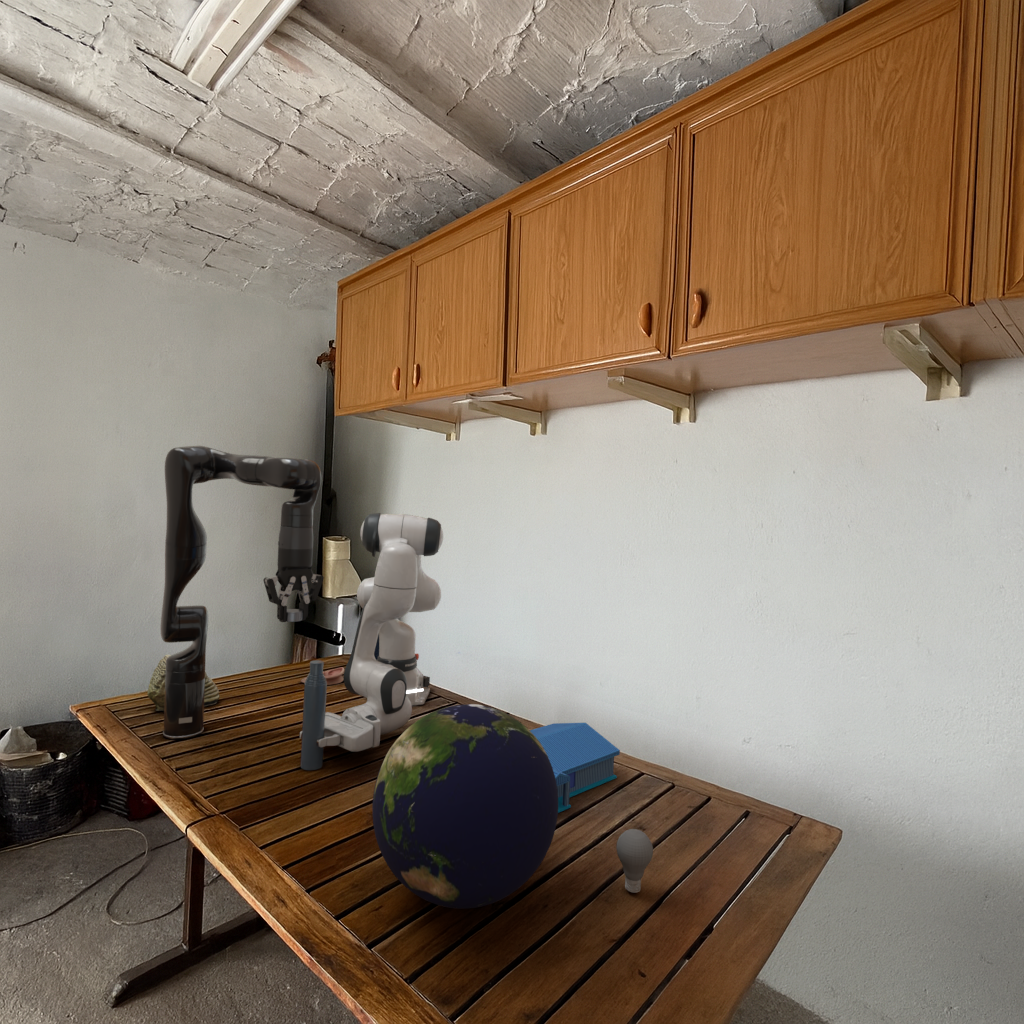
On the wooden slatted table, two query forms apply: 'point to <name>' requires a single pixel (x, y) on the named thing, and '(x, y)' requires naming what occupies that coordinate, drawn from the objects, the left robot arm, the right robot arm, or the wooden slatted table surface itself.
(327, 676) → the anatomical model
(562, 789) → the model building
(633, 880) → the light bulb
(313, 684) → the bottle
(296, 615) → the cap
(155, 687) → the fossil
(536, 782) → the globe
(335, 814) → the wooden slatted table surface
